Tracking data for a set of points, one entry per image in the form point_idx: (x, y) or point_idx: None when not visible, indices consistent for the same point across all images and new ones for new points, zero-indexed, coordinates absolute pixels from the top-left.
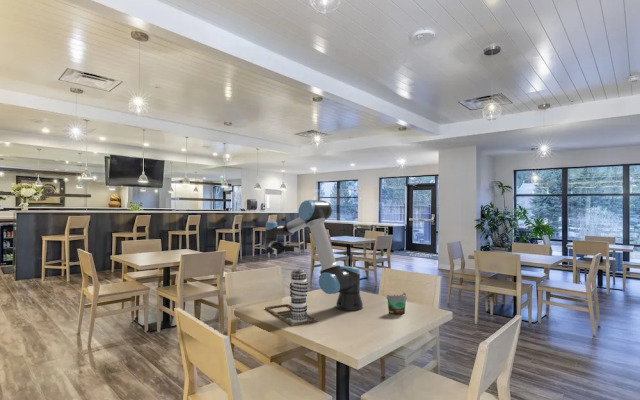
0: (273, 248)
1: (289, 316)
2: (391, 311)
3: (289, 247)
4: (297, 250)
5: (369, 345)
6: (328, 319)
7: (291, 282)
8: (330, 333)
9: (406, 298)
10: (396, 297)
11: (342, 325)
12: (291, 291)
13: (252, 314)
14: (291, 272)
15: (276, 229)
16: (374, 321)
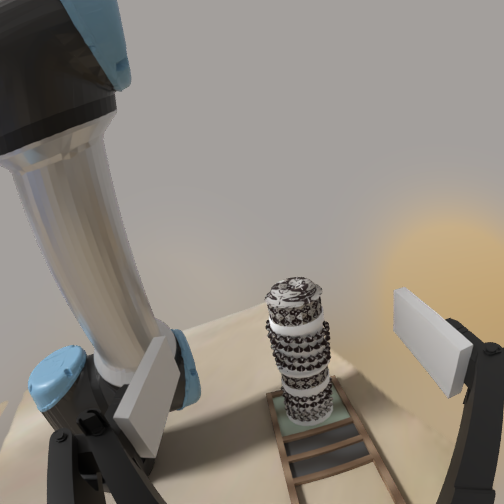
0: (448, 331)
1: (331, 423)
2: None
3: (153, 495)
4: (168, 365)
5: (237, 318)
6: (232, 405)
7: (320, 334)
8: (268, 348)
9: None
10: None
11: (225, 373)
12: (323, 355)
13: (449, 455)
14: (317, 297)
15: None
16: None
